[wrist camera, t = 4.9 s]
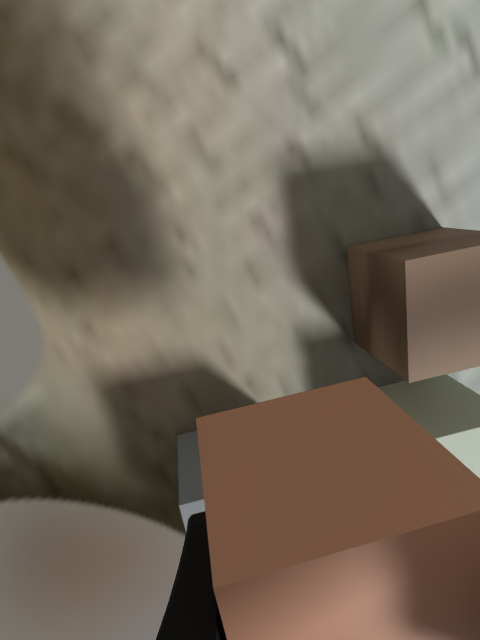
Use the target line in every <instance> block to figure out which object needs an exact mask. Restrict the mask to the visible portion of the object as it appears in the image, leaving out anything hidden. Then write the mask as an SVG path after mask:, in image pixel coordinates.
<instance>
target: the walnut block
mask: <svg viewBox="0 0 480 640" xmlns="http://www.w3.org/2000/svg"><path fill="white" fill-rule="evenodd" d="M347 258H348V270H349V283H350V296H351V308H352V321H353V334H354V342H355V343H357V344H358V345H359V346H361V347H362V348H363V349H365V350H366V351H367V352H369V353H370V354H371V355H372V356H374V357H375V358H376V359H378V360H379V361H380V362H382V363H383V364H384V365H386V366H387V367H388V368H390V369H391V370H392V371H393V372H395V373H396V374H397V375H399V376H400V377H401V378H403V379H404V380H405V381H407V382H408V383H412V382H416V381H420V380H424V379H428V378H432V377H436V376H440V375H445V374H449V373H453V372H457V371H461V370H465V369H469V368H473V367H477V366H480V231H476V230H465V229H454V228H443V227H441V228H436V229H431V230H426V231H421V232H416V233H411V234H406V235H401V236H396V237H391V238H386V239H381V240H376V241H371V242H366V243H361V244H356V245H351V246H347Z"/></svg>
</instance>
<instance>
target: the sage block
mask: <svg viewBox="0 0 480 640" xmlns="http://www.w3.org/2000/svg"><path fill="white" fill-rule="evenodd" d="M378 388H379V389H380V390H381V391H382V392H383V393H384V394H386V395H387V396H388V397H389V398H390V399H391V400H392V401H393V402H395V403H396V404H397V405H398V406H399V407H400V408H401V409H402V410H404V411H405V412H406V413H407V414H408V415H409V416H410V417H411V418H413V419H414V420H415V421H416V422H417V423H418V424H419V425H420V426H422V427H423V428H424V429H425V430H426V431H427V432H428V433H429V434H430V435H432V436H433V437H434V438H435V439H436V440H437V441H438V442H439V443H441V444H442V445H443V446H444V447H445V448H446V449H447V450H448V451H450V452H451V453H452V454H453V455H454V456H455V457H456V458H457V459H459V460H460V461H461V462H462V463H463V464H464V465H465V466H466V467H468V468H469V469H470V470H471V471H472V472H473V473H474V474H475V475H477V476H478V477H479V478H480V395H478V394H477V393H475V392H474V391H472V390H470V389H469V388H467V387H466V386H464V385H462V384H461V383H459V382H458V381H456V380H454V379H453V378H451V377H450V376H448V375H447V374H445V375H440V376H436V377H432V378H428V379H424V380H420V381H416V382H412V383H408V382H407V381H401V382H397V383H393V384H388V385H384V386H380V387H378Z"/></svg>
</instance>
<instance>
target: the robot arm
mask: <svg viewBox="0 0 480 640" xmlns="http://www.w3.org/2000/svg"><path fill="white" fill-rule="evenodd" d="M156 640H227V638H226V634H225V630H224V627H223V623H222V619H221V615H220V612H219V608H218V604H217V601H216V597H215V593H214V590H213V581H212V571H211V562H210V552H209V542H208V532H207V523H206V513H205V511H203V512H200V513H196V514H192V515H191V516H190V518H189V519H188V524H187V531H186V536H185V542H184V546H183V551H182V555H181V559H180V563H179V567H178V571H177V574H176V578H175V581H174V585H173V588H172V592H171V596H170V599H169V602H168V605H167V608H166V611H165V615H164V617H163V620H162V623H161V626H160V629H159V632H158V635H157V638H156Z"/></svg>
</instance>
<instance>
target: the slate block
mask: <svg viewBox="0 0 480 640" xmlns="http://www.w3.org/2000/svg"><path fill="white" fill-rule="evenodd" d="M177 440H178V485H179V508H180V511H181V515H182V519H183V523H184V527H185V530H186V531H187V524H188V519H189V518H190V516H191V515H192V514H196V513H200V512H203V511H205V503H204V493H203V484H202V474H201V464H200V454H199V444H198V435H197V431H193V432H188V433H184V434H180V435H177Z"/></svg>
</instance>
